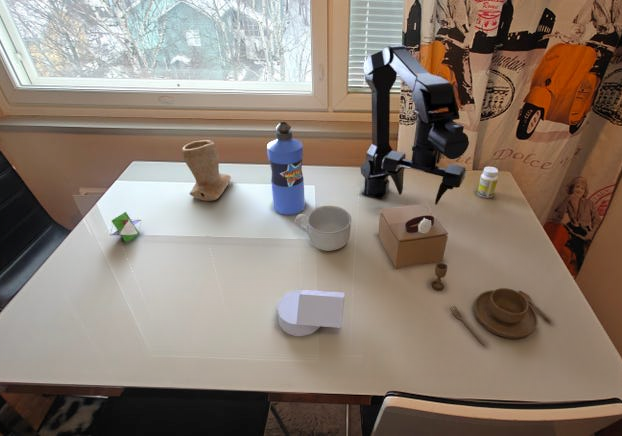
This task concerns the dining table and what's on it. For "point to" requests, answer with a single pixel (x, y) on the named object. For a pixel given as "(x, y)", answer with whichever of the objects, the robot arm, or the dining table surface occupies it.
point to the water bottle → (286, 171)
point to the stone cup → (205, 170)
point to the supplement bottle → (488, 182)
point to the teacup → (327, 227)
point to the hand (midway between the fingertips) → (418, 198)
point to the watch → (423, 226)
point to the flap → (405, 213)
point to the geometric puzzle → (125, 227)
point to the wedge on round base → (310, 311)
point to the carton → (412, 243)
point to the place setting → (499, 310)
